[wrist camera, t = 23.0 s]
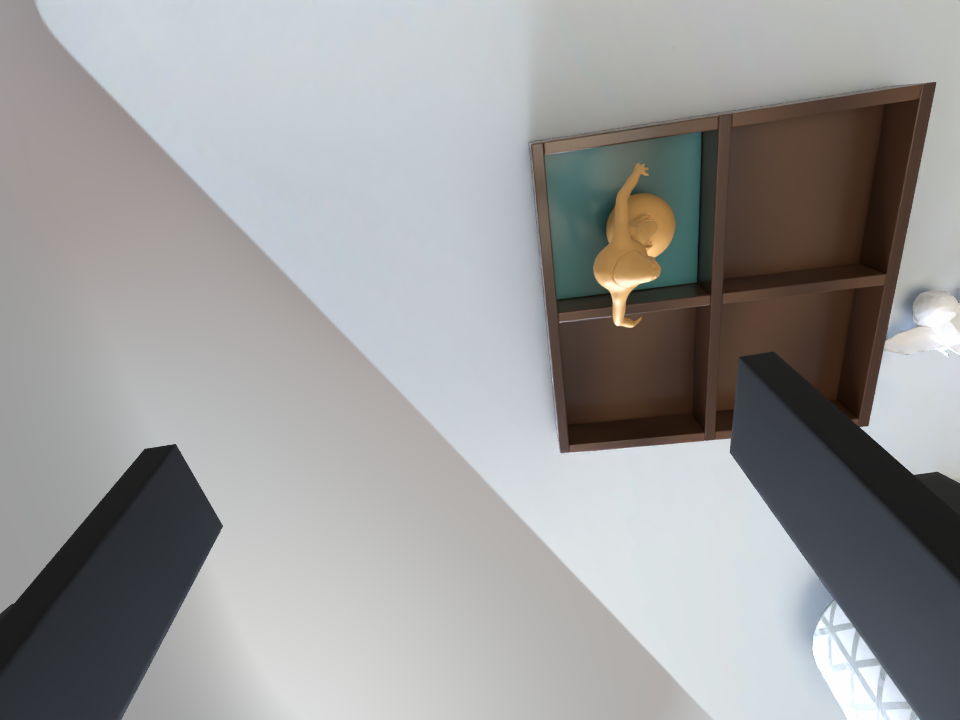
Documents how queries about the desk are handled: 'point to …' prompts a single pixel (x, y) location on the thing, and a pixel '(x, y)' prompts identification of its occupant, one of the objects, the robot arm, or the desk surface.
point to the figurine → (633, 244)
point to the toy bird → (930, 326)
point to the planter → (855, 671)
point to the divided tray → (728, 260)
